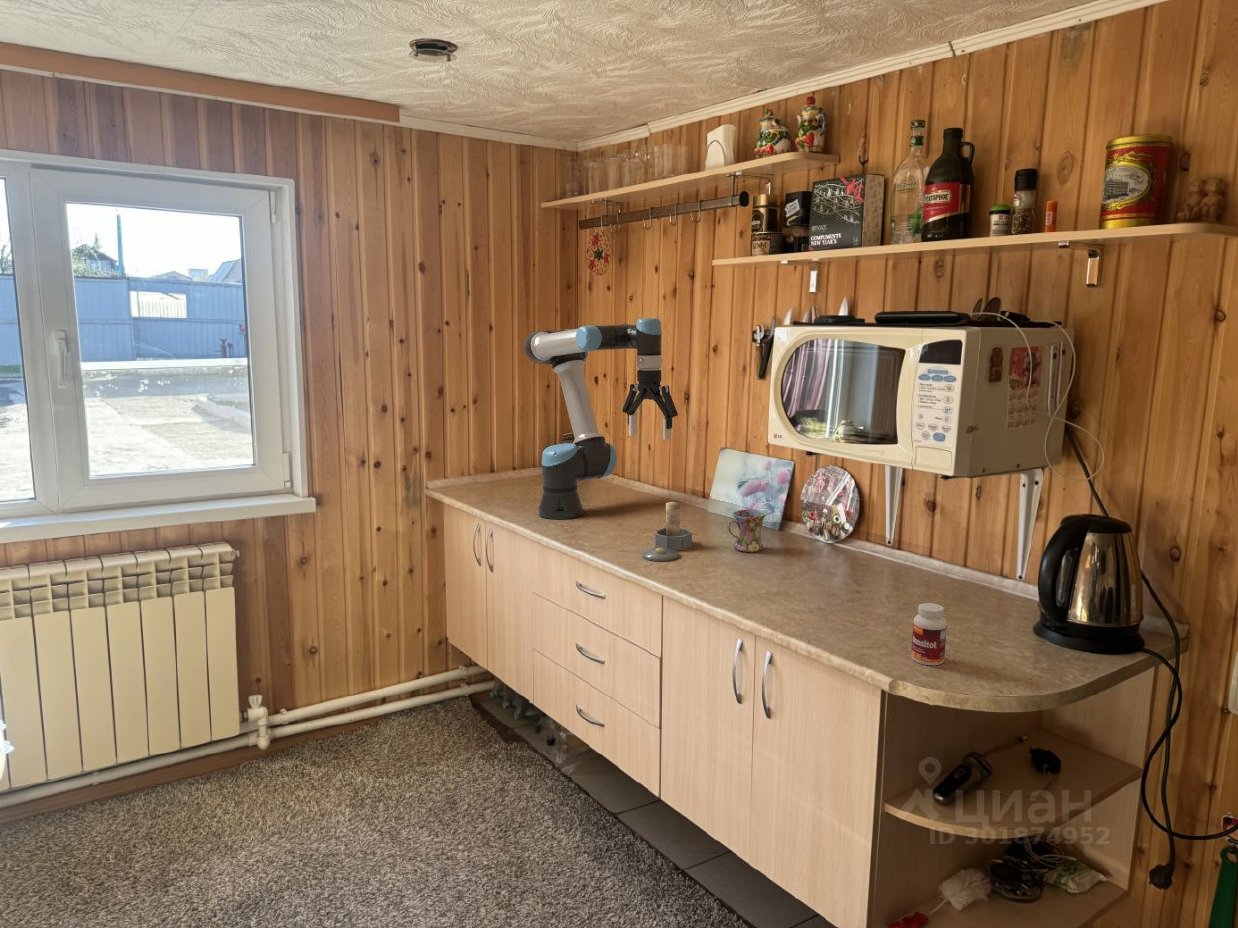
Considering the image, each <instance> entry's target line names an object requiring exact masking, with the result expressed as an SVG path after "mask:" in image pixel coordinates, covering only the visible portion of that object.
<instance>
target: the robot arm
mask: <svg viewBox="0 0 1238 928" xmlns="http://www.w3.org/2000/svg"><path fill="white" fill-rule="evenodd" d="M662 335H663V331H662V320H661V319H660V318H650V317H648V318H638V319H637V320H636V324H628V323H623V324H611V325H610V324H609V325H607V324H606V325H592V324H591V325H590V324H589V325H584V326H580V327H578V328H575V329H557V330H555V329H550V330H537V331H534V332H531V333H530V334H528V336H527V337H526V338H525V340H524V343H523V352H524V354H525V356H526V358H527V359H529V361H530V362H532V363H533V364H538V365H551V367H552V371H553V373H555V374H557V375H558V377H559V381H560V385H561V389H562V393H563V397H564V401H565V406H566V409H567V410H566V411H567V415H568V417H569V423H570V425H571V429H572V433H573V438H574V440H573V442H572V443H558V444H554V445H551V446H548V447H546V448H545V449H544V450H543V451H542V454H541V465H542V466H541V467H542V495H541V498H540V503H539V504H540V505H539V506H538V516H539V517H541V518H544V519H550V520H566V519H573V518H578V517H581V516H583V514H584V506H583V504H582V502H581V498H580V494H579V490H578V482H582V481H587V480H588V481H589V480H595V479H597V480H598V479H599V480H600V479H602V478H605V477H609V476H611V474H613V472H614V471H615V467H616V464H617V451H616V449H615V447H614V446H613V444H611V443H609V442H607V441H606V439H605V436H604V435H603V434H601V433H600V432H599V430H598V429H599V428H598V425H597V424H598V423H597V420H596V417H595V413H594V409H593V406H592V401H591V397H590V394H589V390H588V386H587V385H588V384H587V381H586V379H585V374H584V370H583V368H584V366H585V365H586V359H587V358H588V354H589V352H593V351H594V352H596V351H607V350H609V351H610V350H612V351H613V350H629V349H630V350H636V363H637V364H636V368H637V369H638V370H637V371H636V381H637V382H638V383H631V384H630V386H629V391H628V395H627V397H626V399H625V402H624V405H623V407H622V413H624V414H626V416H627V425H628V426H629V427H628V428H629V429H628V431H629V434H628V436H629V437H632V436H633V437H634V436H637V431H638V430H637V429H638V428H637V427H638V426H637V425H638V424H637V421H638V420H637V414H636V411H638V409H639V407H641V406H640V405H642V403H643V402H644V400H649V401H652V400H653V401H654V402H655V404H656V405H657V406H658V408H659V409H660V411H661V413H662V414H663V416H664V418H662V427H663V428H662V431H663V432H662V433H663V434H662V440H664V441H667V440H671V435H672V434H671V433H672V432H671V430H672V428H673V418H675V417H678V415H679V412H678V410H677V408H676V406H675V403H674V400H673V397H672V395H671V393H670V385H669V384H668V385H662V386H661V382H662V378H663V377H662V370H661V368H662V366H663V365H662V364H663V363H662Z"/></svg>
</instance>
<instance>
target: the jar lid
mask: <svg viewBox="0 0 1238 928" xmlns="http://www.w3.org/2000/svg"><path fill="white" fill-rule="evenodd" d="M641 554H642V558H643V559H644V560H646V561H650V562H670V561H673V560H677V559H678V558H679V552H678V550H673V549H668V548H655V547H653V548H652V547H651V548H649V549H645V550H643V551H642V553H641Z"/></svg>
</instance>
